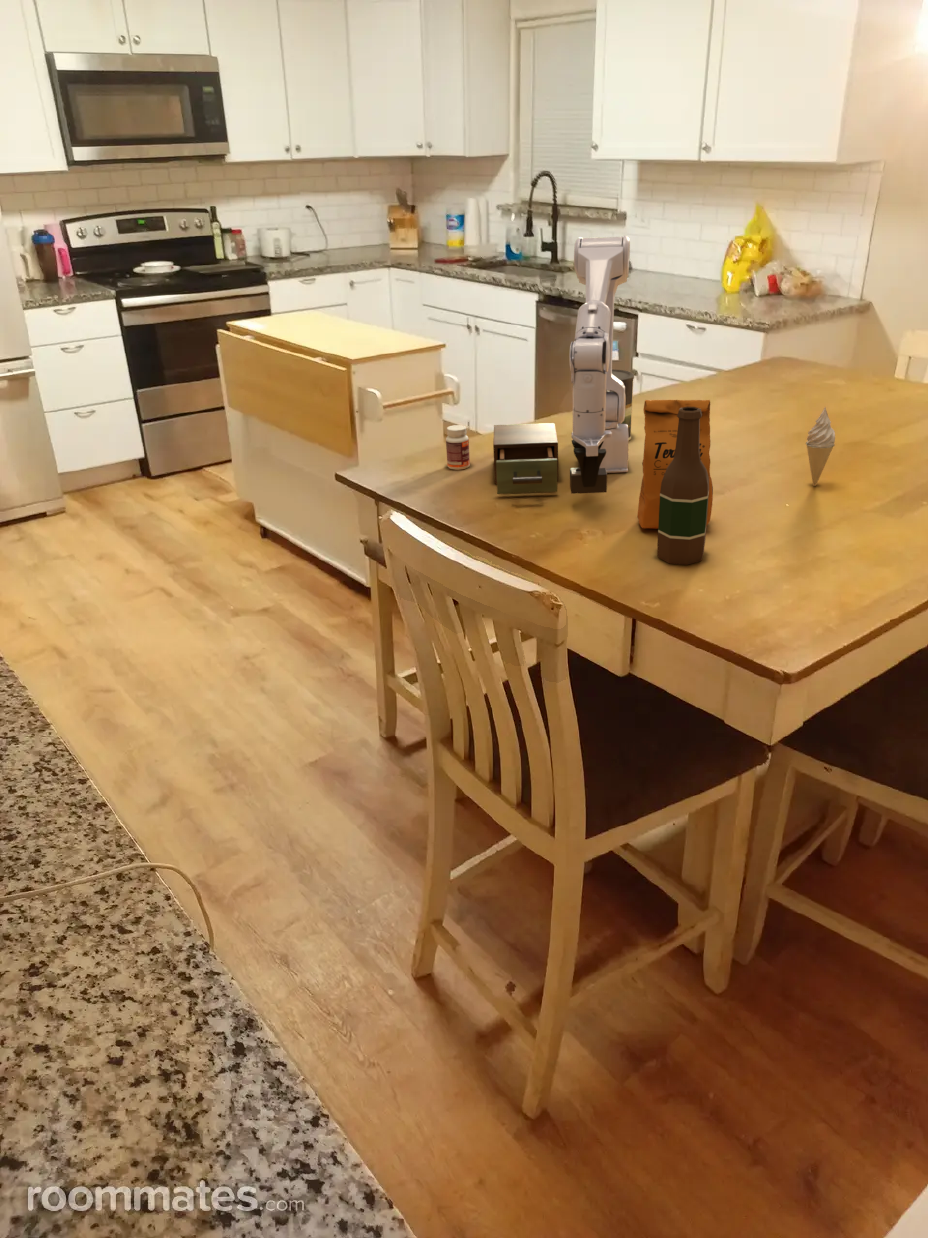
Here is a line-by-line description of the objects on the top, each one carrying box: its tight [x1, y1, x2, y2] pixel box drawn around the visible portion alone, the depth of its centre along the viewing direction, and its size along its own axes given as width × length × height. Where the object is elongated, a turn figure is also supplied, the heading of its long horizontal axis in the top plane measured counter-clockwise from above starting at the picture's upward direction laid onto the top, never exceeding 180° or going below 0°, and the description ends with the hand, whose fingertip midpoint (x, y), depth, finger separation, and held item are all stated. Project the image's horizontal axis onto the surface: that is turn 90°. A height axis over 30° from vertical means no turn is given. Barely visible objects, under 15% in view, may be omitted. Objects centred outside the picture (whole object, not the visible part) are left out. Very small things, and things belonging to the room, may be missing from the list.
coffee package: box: [637, 399, 714, 530], centre depth 154 cm, size 10×12×22 cm
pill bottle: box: [445, 424, 471, 471], centre depth 191 cm, size 5×5×8 cm
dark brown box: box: [569, 467, 608, 495], centre depth 166 cm, size 6×4×4 cm, turn 88°
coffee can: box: [606, 368, 635, 441], centre depth 202 cm, size 10×10×14 cm
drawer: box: [496, 446, 558, 495], centre depth 176 cm, size 17×11×6 cm, turn 178°
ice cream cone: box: [805, 406, 836, 487], centre depth 169 cm, size 5×5×15 cm
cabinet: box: [492, 422, 559, 485], centre depth 186 cm, size 14×13×8 cm
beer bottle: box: [656, 406, 709, 566], centre depth 142 cm, size 8×8×24 cm
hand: (588, 482), depth 166 cm, fingers closed on dark brown box, 3 cm apart
